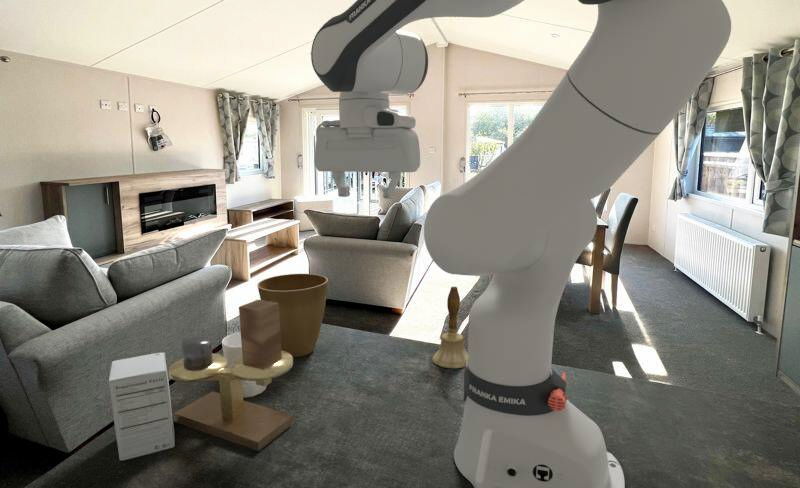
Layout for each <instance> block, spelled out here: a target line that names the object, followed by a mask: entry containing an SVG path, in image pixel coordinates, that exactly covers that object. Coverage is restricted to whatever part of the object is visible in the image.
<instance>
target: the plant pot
mask: <svg viewBox="0 0 800 488" xmlns="http://www.w3.org/2000/svg"><path fill="white" fill-rule="evenodd" d="M328 282H329V279H328V277H326V276H324V275H321V274H315V273H290V274H281V275H276V276H275V275H274V276H271V277H268V278H264V279H262V280H260V281H258V283H257V291H258V294H259V298H260V299H259V300H264V301H270V302H276V303H279V317H280V335H281V351H285V352H288V353H289V354H291V355H292V357H293V358H300V357H304V356H307V355H310V354H312V353H313V351H314V350H315V347H316V344H317V342H318V338H319V334H320V332H321V327H322V324H323V319H324V314H325V309H326V308H325V307H326V304H327V303H326V302H327V294H328V286H329V285H328V284H329V283H328Z"/></svg>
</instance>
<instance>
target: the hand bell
mask: <svg viewBox="0 0 800 488" xmlns="http://www.w3.org/2000/svg"><path fill="white" fill-rule="evenodd" d="M446 305H447V306H446V307H447V310H448V315H449V316H448V317H449V320H448V330H447V332H445V333H443V334H442V335H441V338H440V339H441V340H440V345H439V348H438V350H437V352H435V353H434V355H433V356H432V359H431V360H432V362H433V364H435V365H436V366H439V367H442V368H444V369H445V368H446V369H461V368H462V369H463V368H464V367H465V363H466V362H468V351H466V348H465V343H464V337H463V335H462V334H460V333H458V332H457V328H458V326H457V325H458V324H457V323H458V321H457V317H458V314H459V310H460V305H461V299H460V294H459V290H458V287H457V286H451V287H450V290H449V293H448V296H447V302H446Z"/></svg>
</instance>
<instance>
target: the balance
mask: <svg viewBox="0 0 800 488" xmlns="http://www.w3.org/2000/svg"><path fill="white" fill-rule="evenodd" d="M212 347H213V346H212V339H211V338H210V337H208V336H196V337H191V338H188V339H186V340H184V341H183V342H181V350H182V351H181V352H182V358H180V359H178V360H176V361H175V362H173V363H172V364H170V366H169V367H168V369H167V372H168V378H170V379H171V380H173V381H176V382H180V383H193V382H195V383H196V382H201V381H218V383H219V384H218V385H219V392H216V391H211V392H209V393H206V394H205V395H204V396H202V397H200V398H198V399H196V400H194V401H193V402H191V403H189V404H187V405H186V406H184V407H182V408H180V409H179V410H177V411H175V412H174V413H173V423H177V424H180V425H182V426H183V425H184V426H186V427H188V428H191V429H194V430H196V431H197V430H198V431H200V432H203V433H206V434H209V435H211V436H214V437H217V438H219V439H223V440H225V441H228V442H232V443H234V444H237V445H240V446H243V447H245V448H247V449H248V448H249V449H251V450H254V451H256V452H260V451H261V450H262V449H264V448H265V447H267V446H268V445H269V444H270V443H271V442H273V441H274V440H276V438H277V437H280V435H281V434H283V433H284V432H285V431H286V430H287V429H289V428H290V427H291V426H293V425H294V424H295V421H294V415H293V414H291V413H287V412H284V411H282V410H277V409H275V408H274V409H273V408H270V407H267V406H263V405H260V404H258V403H254V402H252V401H251V402H250V401H248V400H247V401H246V400H244V398H243V390H242V381H256V384H257V385H260V386H266V385H267V386H268V385H269V384H271V383H272V379H275V378H277V377H280V376H283V375H284V374H287V373H288V372H289V371H291V369H292V368H293V365H294V357H292V355H291V354H289V353H288V352H285V351H281V352H282V359H281V360H280V361H278V362H276V363H274V364H273V365H271V366H269V367H268V368H266V369H264V370H263V369H259V368H255V367H251V366H247V365H243V357H242V356H240V357H238V358H237V359H235V360H234V361H233V362H232V364H231V368H227V367H228V361H227V358H226V357H225V356H224V355H223V354H221V353H213V350H212V349H213V348H212Z"/></svg>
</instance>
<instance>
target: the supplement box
mask: <svg viewBox="0 0 800 488" xmlns="http://www.w3.org/2000/svg"><path fill="white" fill-rule="evenodd" d="M166 361H167V360H166V353H165V352H156V353H150V354H145V355H144V354H143V355H139V356H134V357H128V358H121V359H117V360H113V361H111V365H110V370H109V376H108V377H109V378H108V386H109V393H110V400H111V406H112V407H111V408H112V416H113V423H114V428H115V429H114V431H115V438H116V443H117V445H116V446H117V449H118V458H119V461H122V462H123V461H126V460H130V459H134V458H138V457H143V456H145V455H150V454H154V453H157V452H162V451H164V450H168V449H173V448H174V447H175V445H176V443H175V441H176V440H175V439H176V438H175V427H174V426H175V425H174V415H173V409H172V399H171V390H170V389H171V388H170V384H169V372H168V367H167V362H166Z"/></svg>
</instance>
